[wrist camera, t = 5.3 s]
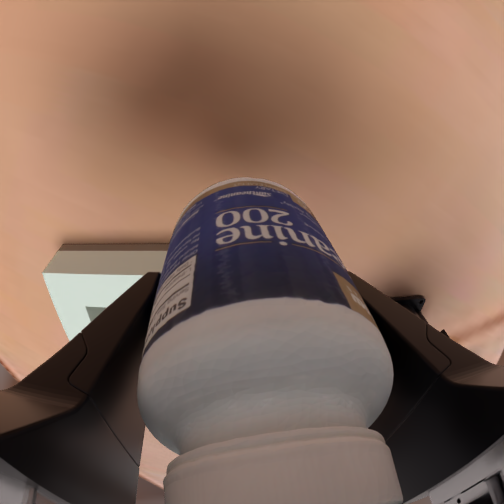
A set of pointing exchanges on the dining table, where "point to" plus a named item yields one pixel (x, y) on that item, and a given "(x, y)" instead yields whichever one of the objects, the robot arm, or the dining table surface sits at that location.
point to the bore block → (96, 278)
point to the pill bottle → (264, 359)
